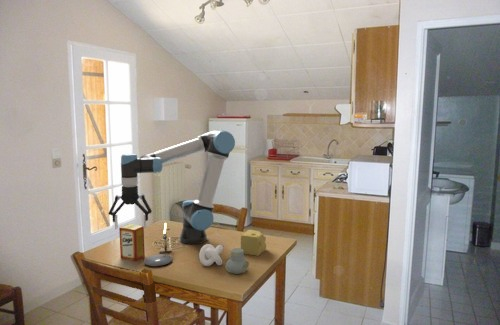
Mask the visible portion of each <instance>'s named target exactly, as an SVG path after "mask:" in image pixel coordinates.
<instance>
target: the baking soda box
mask: <svg viewBox="0 0 500 325" xmlns="http://www.w3.org/2000/svg"><path fill="white" fill-rule="evenodd" d="M118 228H119V249H120V259H122V260H123V259H124V260H127V261H128V260H129V261H133V262H134V261H135V262H137V261H139V260H141V259H142V258H144V257H145V230H144V229H145V228H144V225H137V224H132V223H131V224H130V223H128V224H125V225H124V226H121V227H118Z"/></svg>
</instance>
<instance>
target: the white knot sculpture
mask: <svg viewBox="0 0 500 325" xmlns="http://www.w3.org/2000/svg"><path fill="white" fill-rule="evenodd" d="M223 251H224V246H223V245H222V244H218V245H217V246H216V247H215V246H214V245H212V244H210V243H206V244H204V245H203V246H202V247H201V248H200V251H199V255H198V257H199V261H200V263H201V264H202V266H205V267H209V266H211V265H213V264H214V263H215V264H216V265H218V266H222V265H223V260H222V258H221V255H222V254H223Z"/></svg>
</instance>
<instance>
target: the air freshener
mask: <svg viewBox="0 0 500 325" xmlns="http://www.w3.org/2000/svg"><path fill="white" fill-rule="evenodd" d="M249 265H250V264H249V261H248V260H247V258H245V254H244V250H243V249H241V247H240V248H239V247H238V248H236V247H235V248H232V249H231V250H230V258H228V260H227V261H226V263H225V269H226V271H228V272H229V273H231V274H235V275H238V274H243V273H245V272H247V271H248V268H249Z"/></svg>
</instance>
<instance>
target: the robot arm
mask: <svg viewBox="0 0 500 325" xmlns="http://www.w3.org/2000/svg"><path fill="white" fill-rule="evenodd" d="M235 145H236V140H235V136H234V135H233V134H232V133H231V132H229V131H227V130H222V129H221V130H220V129H219V130H218V129H215V130H211V131H209V132H205V133H203V134H201V135H198V136H197V137H196V138H194V139H191V140H188V141H185V142H181V143H179V144H176V145H173V146H170V147H167V148H164V149H161V150H157V151H155V152H151V153H148V154H142V155H141V156H139V157H138V155H137V154H136V153H124V154H122V155H121V156H120V158H121V159H120V172H121V195H118V194H116V195H115V197H114V201H113V203H112V206H111V207H110V209H109V212H108V215H110V216H112V222H113V223H114V228H115V230H118V228H119V227H118V226H119V225H118V224H119V222H118V220H119V219H118V214H117V213H118V212H119V211H120V210H121V209H122V207H123V206H124V205H136V206H137V207H138V208H139V209H140V210H141V211H142V213H143V226H144V229H146V227H147V222H148V220H149V214H152V211H153V210H152V208H151V207H150V205H149V203H148V201H147V199H146V196H145V194H142V195H139V186H138V184H139V182H138V181H139V180H138V178H139V176H138V175H139V174H145V173H146V174H151V173H152V174H153V173H154V174H155V173H156V174H157V173H161V172H162V171H163V165H165V164H168V163H170V162H173V161H176V160H179V159H183V158H186V157H188V156H191V155H194V154H197V153H200V152H202V153H207V155H208V159H207V162H206V166H205V170H204V172H203V175H202V180H201V183H200V186H199V189H198V190H199V191H198V194H197V197H196V199H189V200H184V201H183V202H182V205H181V208H182V229H181V232H180V236H179V241H180V243H183V244H186V245H187V244H188V245H194V244H202V243H205V242H206V241H207V238H208V237H207V236H208V234H207V232H206V230H209V228H211V226H212V225H213V223H214V214H213V213H214V209H215V205H214V204H213V202H214V198H215V195H216V191H217V187H218V184H219V180H220V177H221V174H222V170H223V167H224V164H225V163H224V162H225V160H228V159H229V156H230V153H231V152H232V151H233V150H234V149H235ZM120 199H121V201H122V202H121V203H120V204H119V205H118V207H117V208H116V205H117V203H118V201H120ZM139 199H140V200H142V203H143V204H144V205H142V204H141V202H140V201H139ZM115 208H116V209H115ZM114 209H115V211H114Z"/></svg>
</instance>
